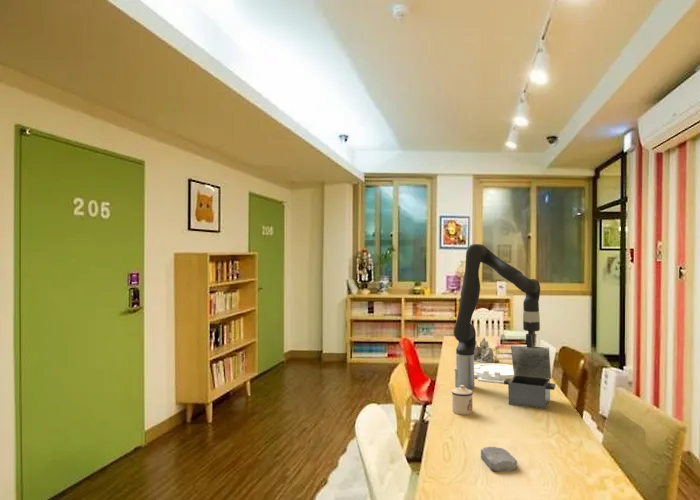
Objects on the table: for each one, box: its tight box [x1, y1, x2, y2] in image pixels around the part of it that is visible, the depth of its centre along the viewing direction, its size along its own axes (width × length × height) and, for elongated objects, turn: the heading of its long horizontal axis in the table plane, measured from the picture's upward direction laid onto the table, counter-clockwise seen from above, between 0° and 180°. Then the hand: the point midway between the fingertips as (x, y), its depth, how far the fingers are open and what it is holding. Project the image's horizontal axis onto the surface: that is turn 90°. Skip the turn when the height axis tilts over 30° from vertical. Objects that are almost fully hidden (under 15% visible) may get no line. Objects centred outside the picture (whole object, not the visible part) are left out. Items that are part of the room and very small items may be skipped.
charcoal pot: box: [504, 375, 556, 410], centre depth 231 cm, size 22×16×10 cm
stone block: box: [480, 446, 518, 473], centre depth 163 cm, size 12×5×10 cm
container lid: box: [474, 362, 519, 385], centre depth 283 cm, size 30×35×6 cm
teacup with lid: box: [451, 385, 474, 416], centre depth 219 cm, size 12×9×12 cm
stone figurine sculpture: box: [474, 337, 495, 364], centre depth 321 cm, size 16×16×15 cm
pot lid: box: [510, 333, 552, 380], centre depth 235 cm, size 17×25×3 cm
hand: (532, 356), depth 238 cm, fingers closed
